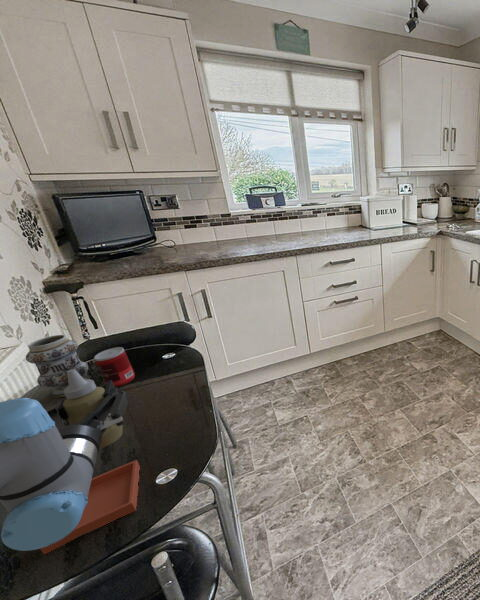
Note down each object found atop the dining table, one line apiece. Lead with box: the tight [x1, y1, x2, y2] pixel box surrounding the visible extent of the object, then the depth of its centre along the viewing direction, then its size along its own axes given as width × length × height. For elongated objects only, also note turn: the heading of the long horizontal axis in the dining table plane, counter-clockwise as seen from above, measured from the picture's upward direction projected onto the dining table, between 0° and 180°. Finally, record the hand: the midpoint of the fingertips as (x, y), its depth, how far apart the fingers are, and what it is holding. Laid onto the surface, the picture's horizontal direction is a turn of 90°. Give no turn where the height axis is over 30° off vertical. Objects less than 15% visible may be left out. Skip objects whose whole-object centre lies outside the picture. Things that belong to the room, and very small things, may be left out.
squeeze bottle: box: [63, 369, 124, 450], centre depth 69 cm, size 8×8×18 cm
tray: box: [39, 459, 141, 555], centre depth 66 cm, size 13×13×2 cm
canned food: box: [93, 346, 136, 388], centre depth 108 cm, size 8×8×11 cm
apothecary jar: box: [25, 334, 91, 398], centre depth 106 cm, size 12×12×18 cm
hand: (91, 392), depth 73 cm, fingers closed on squeeze bottle, 6 cm apart
